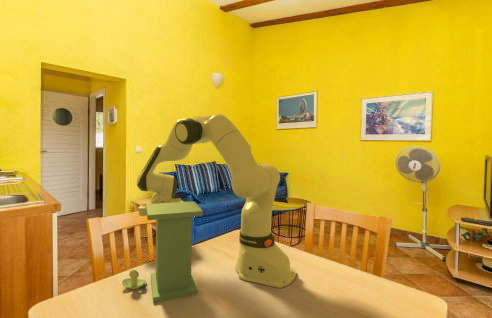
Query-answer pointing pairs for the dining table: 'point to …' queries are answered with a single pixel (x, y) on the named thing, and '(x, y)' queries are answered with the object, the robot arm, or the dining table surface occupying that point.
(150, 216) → the stand
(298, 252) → the dining table surface
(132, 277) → the pacifier
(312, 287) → the dining table surface
